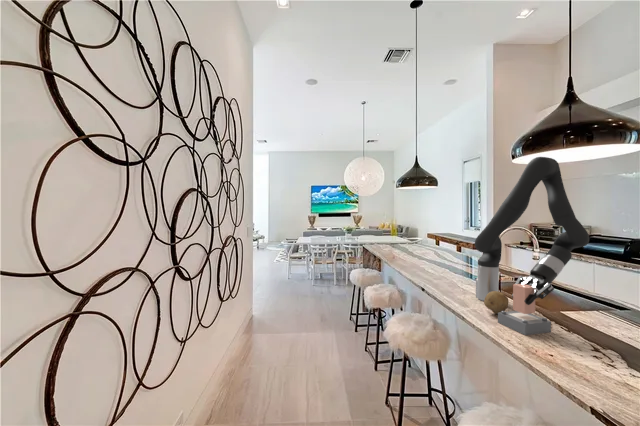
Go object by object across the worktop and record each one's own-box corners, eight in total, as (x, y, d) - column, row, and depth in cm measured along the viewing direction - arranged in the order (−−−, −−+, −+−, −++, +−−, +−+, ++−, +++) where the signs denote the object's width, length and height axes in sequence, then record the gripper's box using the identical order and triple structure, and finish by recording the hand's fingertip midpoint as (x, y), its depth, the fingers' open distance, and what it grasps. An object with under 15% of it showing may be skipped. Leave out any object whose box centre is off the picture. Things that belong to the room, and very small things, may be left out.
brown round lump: (490, 317, 122) (490, 294, 122) (480, 309, 131) (480, 288, 130) (512, 318, 121) (512, 294, 121) (500, 310, 130) (501, 288, 130)
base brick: (497, 322, 116) (497, 310, 116) (521, 319, 119) (521, 308, 119) (525, 335, 105) (525, 322, 105) (550, 332, 108) (551, 319, 108)
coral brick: (512, 309, 114) (513, 284, 114) (523, 308, 115) (523, 283, 115) (524, 314, 109) (524, 287, 109) (535, 312, 110) (535, 287, 110)
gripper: (525, 259, 120) (499, 289, 118) (559, 266, 105) (530, 300, 104) (536, 271, 121) (511, 301, 119) (571, 280, 106) (542, 314, 105)
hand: (520, 300), depth 111 cm, fingers closed on coral brick, 5 cm apart
